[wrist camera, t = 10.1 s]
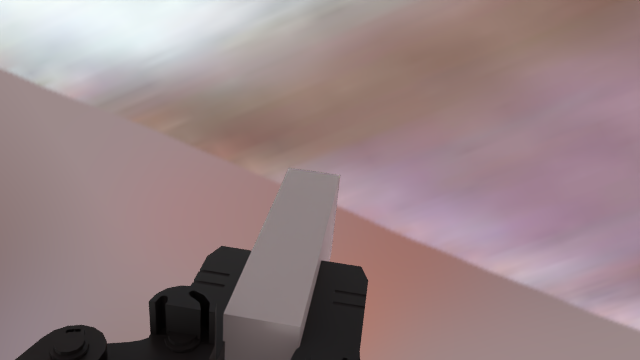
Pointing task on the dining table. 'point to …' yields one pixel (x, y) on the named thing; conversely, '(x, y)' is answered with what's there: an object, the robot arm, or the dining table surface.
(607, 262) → the dining table surface
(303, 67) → the dining table surface
